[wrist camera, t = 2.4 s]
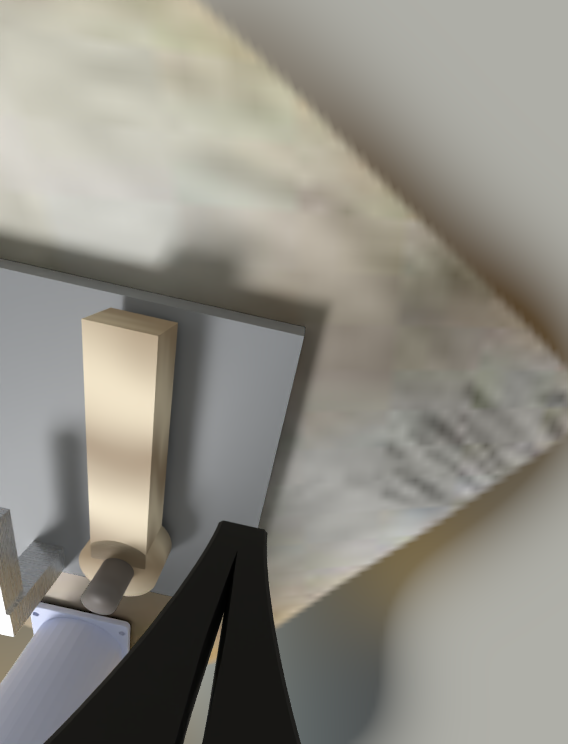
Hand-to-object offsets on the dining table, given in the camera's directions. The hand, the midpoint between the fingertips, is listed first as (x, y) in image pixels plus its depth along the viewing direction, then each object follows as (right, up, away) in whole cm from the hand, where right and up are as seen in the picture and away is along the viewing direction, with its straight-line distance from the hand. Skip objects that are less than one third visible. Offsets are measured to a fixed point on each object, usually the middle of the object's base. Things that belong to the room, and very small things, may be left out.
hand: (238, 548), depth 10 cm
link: (-6, +1, +8) cm, 10 cm away
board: (-9, +1, +10) cm, 14 cm away
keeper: (-14, -4, +11) cm, 18 cm away
